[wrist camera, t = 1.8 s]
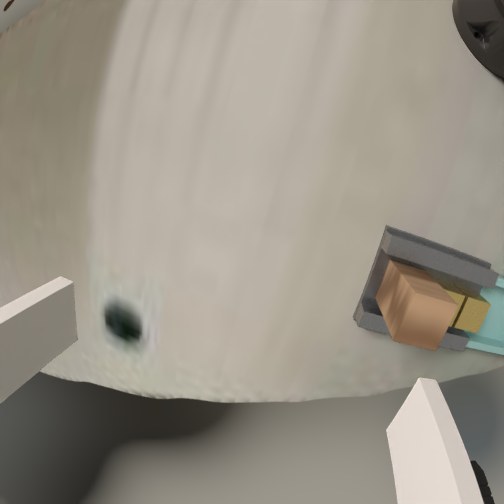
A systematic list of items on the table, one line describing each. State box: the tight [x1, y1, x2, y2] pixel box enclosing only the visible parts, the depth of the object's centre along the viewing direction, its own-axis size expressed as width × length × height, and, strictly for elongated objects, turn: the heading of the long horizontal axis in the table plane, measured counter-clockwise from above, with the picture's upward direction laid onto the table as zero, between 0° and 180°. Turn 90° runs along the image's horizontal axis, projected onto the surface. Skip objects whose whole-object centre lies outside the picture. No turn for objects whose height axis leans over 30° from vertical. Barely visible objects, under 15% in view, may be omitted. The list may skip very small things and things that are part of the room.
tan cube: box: [432, 277, 465, 327], centre depth 31 cm, size 4×4×4 cm
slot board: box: [353, 225, 499, 351], centre depth 33 cm, size 12×16×4 cm
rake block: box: [375, 260, 458, 351], centre depth 29 cm, size 5×5×10 cm
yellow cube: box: [452, 285, 491, 333], centre depth 31 cm, size 4×4×4 cm
